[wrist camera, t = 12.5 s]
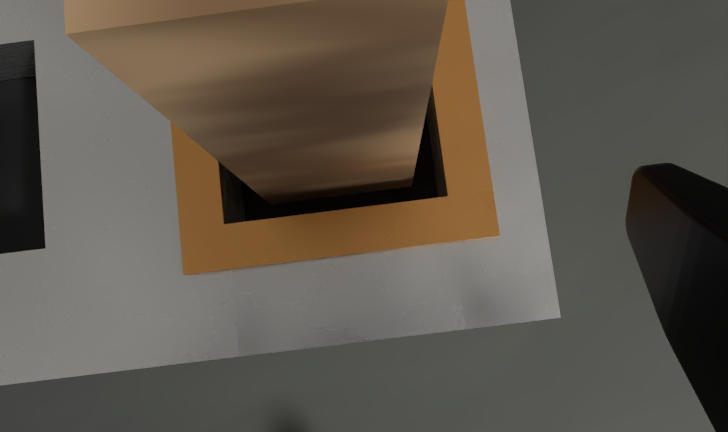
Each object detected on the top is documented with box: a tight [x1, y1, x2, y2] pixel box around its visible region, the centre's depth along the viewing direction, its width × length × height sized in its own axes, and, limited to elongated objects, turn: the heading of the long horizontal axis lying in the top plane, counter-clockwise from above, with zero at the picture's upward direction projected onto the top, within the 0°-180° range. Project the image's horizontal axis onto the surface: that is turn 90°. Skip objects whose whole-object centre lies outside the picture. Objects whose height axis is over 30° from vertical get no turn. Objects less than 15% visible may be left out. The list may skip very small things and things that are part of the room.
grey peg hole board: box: [0, 0, 561, 385], centre depth 19 cm, size 22×13×3 cm, turn 97°
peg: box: [63, 0, 448, 205], centre depth 14 cm, size 4×4×13 cm
